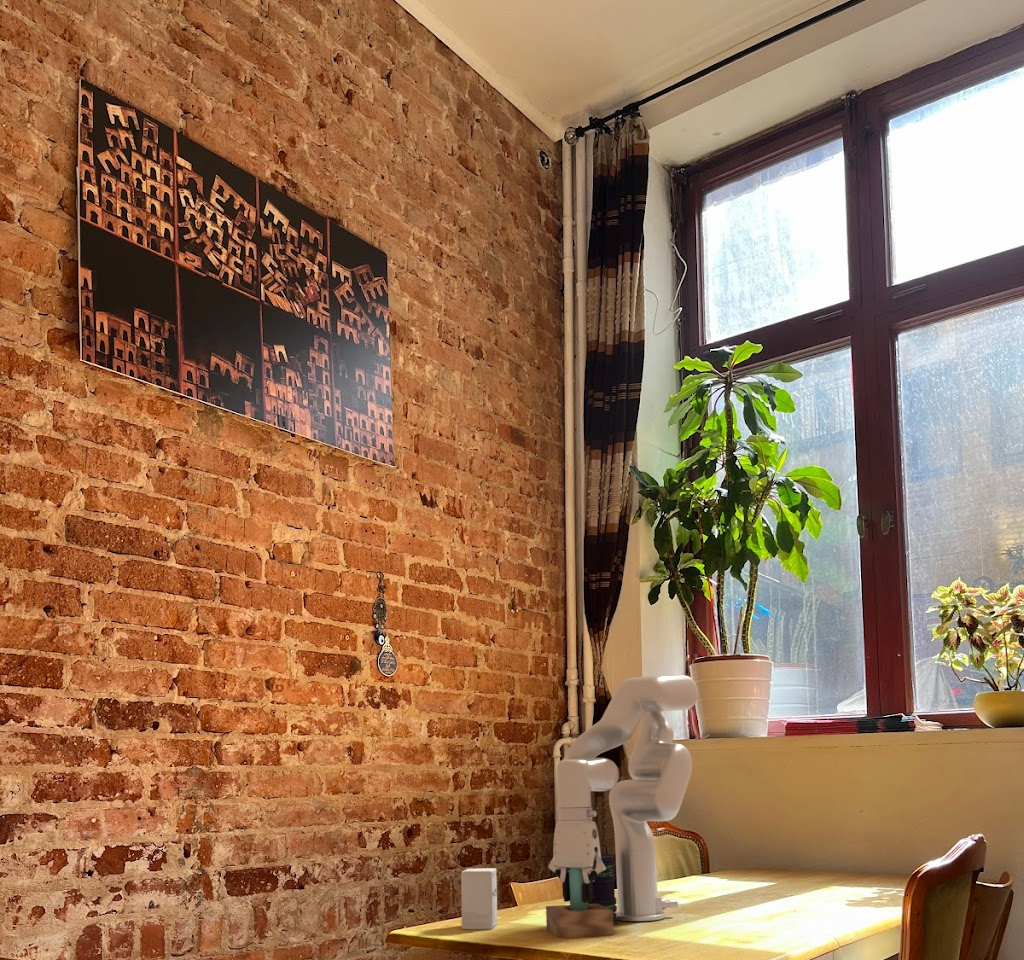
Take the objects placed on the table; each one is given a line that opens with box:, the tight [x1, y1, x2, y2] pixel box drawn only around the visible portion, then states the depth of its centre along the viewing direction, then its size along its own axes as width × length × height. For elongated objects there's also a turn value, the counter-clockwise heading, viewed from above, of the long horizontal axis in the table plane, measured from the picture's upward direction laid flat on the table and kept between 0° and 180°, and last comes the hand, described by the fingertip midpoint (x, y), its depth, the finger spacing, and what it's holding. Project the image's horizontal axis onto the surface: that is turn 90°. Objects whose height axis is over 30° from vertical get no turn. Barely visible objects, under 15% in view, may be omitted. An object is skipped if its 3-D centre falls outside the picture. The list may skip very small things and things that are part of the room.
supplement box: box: [460, 867, 498, 930], centre depth 261 cm, size 7×7×13 cm
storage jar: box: [588, 853, 618, 926], centre depth 263 cm, size 10×10×15 cm
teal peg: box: [569, 868, 588, 911], centre depth 252 cm, size 4×4×14 cm
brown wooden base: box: [545, 903, 615, 939], centre depth 250 cm, size 12×12×5 cm
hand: (577, 900), depth 251 cm, fingers closed on teal peg, 4 cm apart
